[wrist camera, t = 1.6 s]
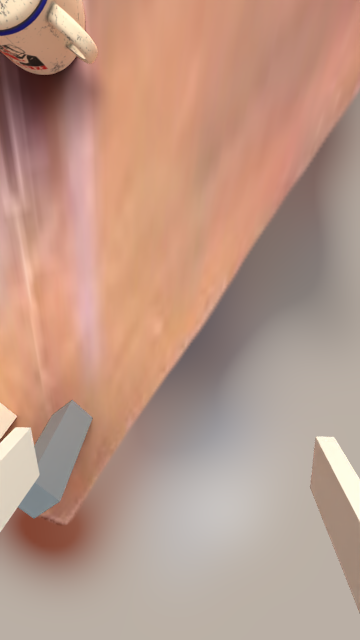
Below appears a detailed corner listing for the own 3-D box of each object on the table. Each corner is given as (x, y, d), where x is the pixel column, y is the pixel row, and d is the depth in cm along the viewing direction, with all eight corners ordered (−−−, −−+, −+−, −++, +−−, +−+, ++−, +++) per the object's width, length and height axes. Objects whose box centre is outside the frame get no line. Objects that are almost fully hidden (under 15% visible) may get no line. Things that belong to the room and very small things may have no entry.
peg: (52, 414, 43) (3, 497, 31) (72, 399, 43) (30, 478, 30) (73, 432, 45) (34, 518, 32) (92, 417, 44) (60, 501, 32)
